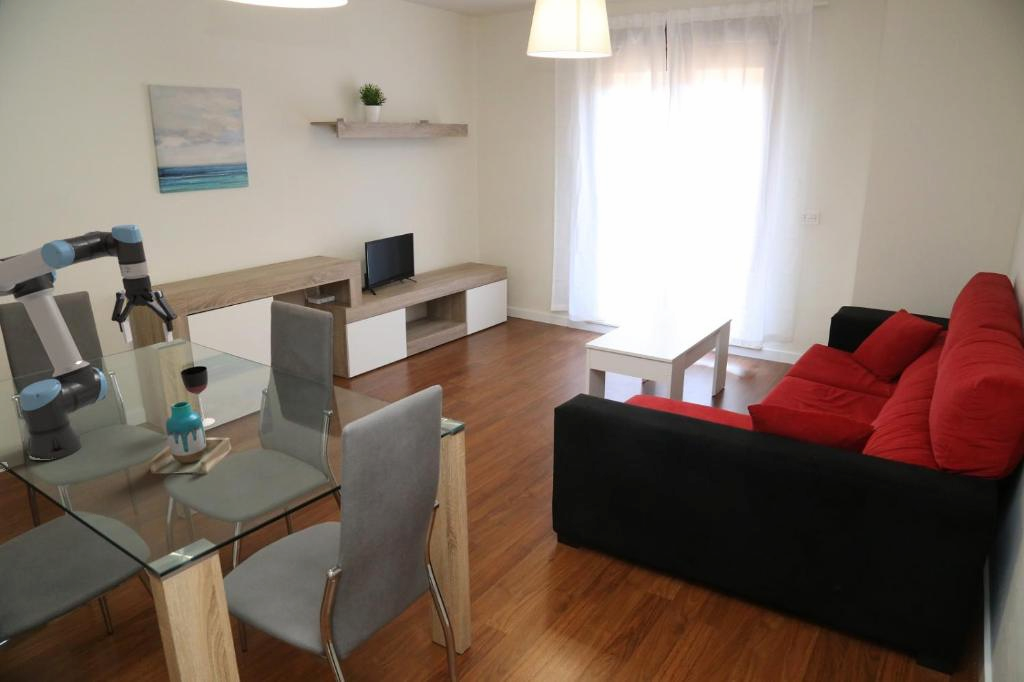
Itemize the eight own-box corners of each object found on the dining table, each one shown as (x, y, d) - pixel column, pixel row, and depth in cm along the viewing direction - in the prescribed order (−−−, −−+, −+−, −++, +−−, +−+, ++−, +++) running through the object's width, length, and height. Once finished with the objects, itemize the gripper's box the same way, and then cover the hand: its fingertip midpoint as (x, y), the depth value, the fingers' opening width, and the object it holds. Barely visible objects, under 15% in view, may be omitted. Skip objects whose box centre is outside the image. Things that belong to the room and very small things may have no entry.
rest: (151, 473, 215) (148, 461, 213) (179, 448, 230) (177, 437, 229) (207, 473, 213) (205, 462, 212) (232, 448, 229) (230, 437, 228)
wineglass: (221, 419, 251) (211, 367, 245) (202, 429, 244) (191, 376, 238) (205, 416, 255) (195, 365, 248) (185, 425, 247) (175, 373, 241)
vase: (195, 469, 215) (184, 412, 209) (165, 467, 217) (153, 410, 211) (215, 453, 225) (205, 398, 219) (186, 451, 227) (175, 396, 221)
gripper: (89, 279, 212) (104, 345, 218) (167, 278, 210) (180, 344, 216) (104, 274, 219) (119, 338, 225) (180, 272, 217) (193, 337, 223)
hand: (149, 341), depth 221 cm, fingers open, 13 cm apart
